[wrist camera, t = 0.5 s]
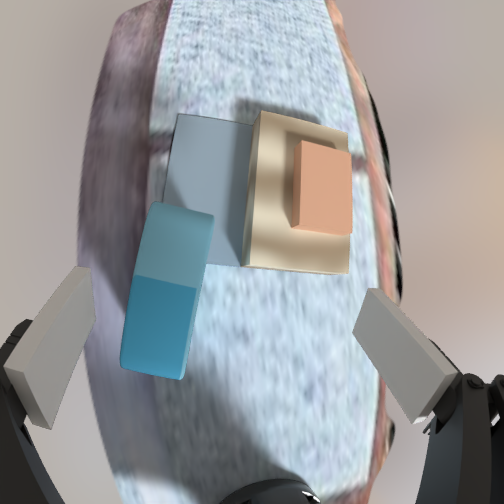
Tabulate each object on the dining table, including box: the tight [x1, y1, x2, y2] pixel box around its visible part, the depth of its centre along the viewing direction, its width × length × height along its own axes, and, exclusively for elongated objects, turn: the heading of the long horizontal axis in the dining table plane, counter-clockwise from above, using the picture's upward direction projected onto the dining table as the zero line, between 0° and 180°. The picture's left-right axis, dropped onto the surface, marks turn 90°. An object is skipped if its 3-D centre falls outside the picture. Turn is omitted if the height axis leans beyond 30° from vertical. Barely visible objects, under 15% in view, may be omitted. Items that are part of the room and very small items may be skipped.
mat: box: [163, 114, 253, 267], centre depth 32 cm, size 17×9×1 cm, turn 175°
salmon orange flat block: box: [291, 140, 352, 236], centre depth 30 cm, size 9×6×2 cm, turn 175°
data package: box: [120, 201, 215, 380], centre depth 24 cm, size 12×4×12 cm, turn 168°
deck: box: [241, 110, 350, 275], centre depth 33 cm, size 17×11×4 cm, turn 175°
